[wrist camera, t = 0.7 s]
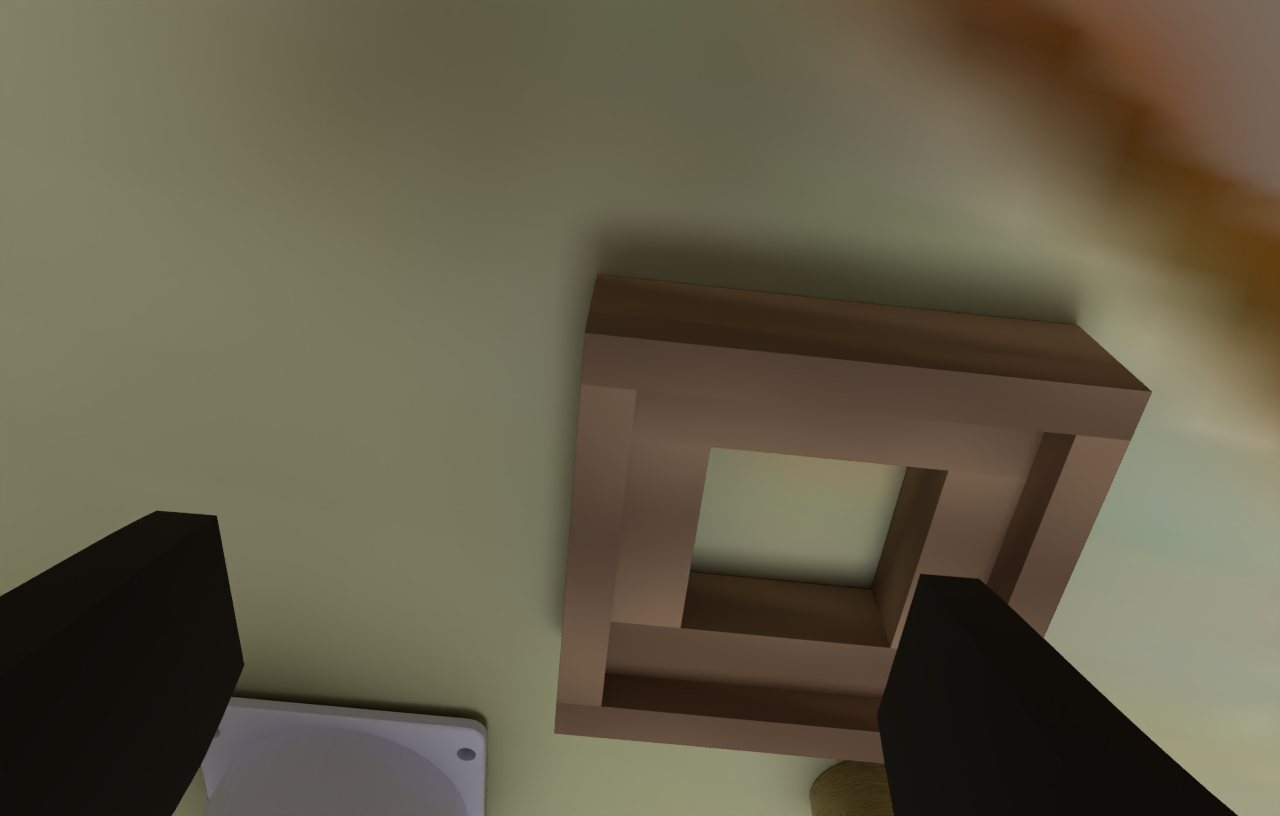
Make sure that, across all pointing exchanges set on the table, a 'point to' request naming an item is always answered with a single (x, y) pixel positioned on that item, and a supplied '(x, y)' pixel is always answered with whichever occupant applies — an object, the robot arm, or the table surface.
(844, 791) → the peg
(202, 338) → the table surface
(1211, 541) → the table surface
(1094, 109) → the table surface
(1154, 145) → the table surface
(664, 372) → the box
